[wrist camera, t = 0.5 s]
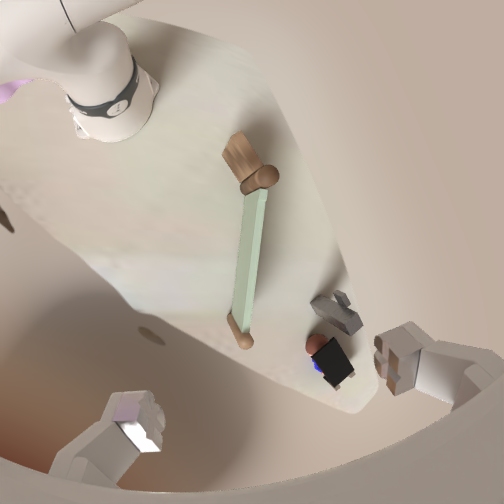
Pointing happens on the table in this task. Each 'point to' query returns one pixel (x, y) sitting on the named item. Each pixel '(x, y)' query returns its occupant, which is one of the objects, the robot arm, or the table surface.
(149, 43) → the table surface
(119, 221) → the table surface
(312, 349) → the figurine character
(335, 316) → the latch post
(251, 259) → the gate
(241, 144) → the wooden hinge block
